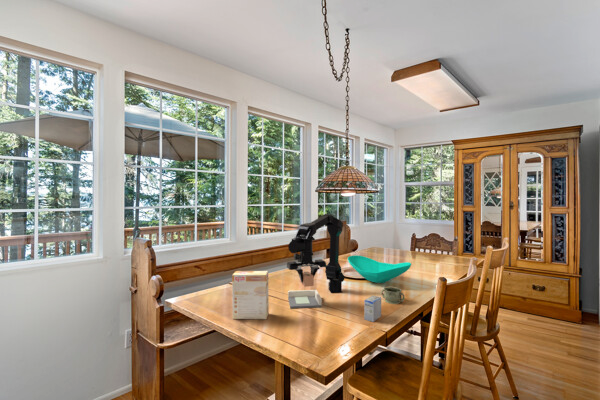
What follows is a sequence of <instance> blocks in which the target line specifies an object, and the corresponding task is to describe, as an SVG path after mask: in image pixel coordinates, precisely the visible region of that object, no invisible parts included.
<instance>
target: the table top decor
mask: <svg viewBox="0 0 600 400" xmlns="http://www.w3.org/2000/svg"><path fill="white" fill-rule="evenodd" d="M347 262H348V263H349V265H350V266H351V267H352V268H353V269H354V270H355V271H356V272H357V273H358V274H359V275H360V276H361V277H363V278H364V279H365V280H367V281H369V282H371V283H377V284H384V283H387V282H389V281H391V280H394V279H395V278H397V277H400V276H402V275H403V274H405V273H406V272H408V270H409V269H410V268H411V266H412V263H411V262H407V261H405V262H399V263H388V262H382V261H378V260H375V259H373V258H370V257H367V256H364V255H350V256H348V257H347Z"/></svg>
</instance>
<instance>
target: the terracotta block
mask: <svg viewBox="0 0 600 400" xmlns="http://www.w3.org/2000/svg"><path fill="white" fill-rule="evenodd" d="M314 278H315V276H314V275H312V274H311V271H303V283H302V282H301V280H300V279H299V283H300V284H301V285H302V286H303V287H305V288H306V287H314V286H315V285H314V282H315V279H314Z"/></svg>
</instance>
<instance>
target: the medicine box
mask: <svg viewBox="0 0 600 400" xmlns="http://www.w3.org/2000/svg"><path fill="white" fill-rule="evenodd" d="M363 303H364V305H363V307H364V313H363V314H364V316H363V318H364V320H366V321H368V322H372V323H375V321H377V320H379V319H380V318H381V317H382V297H380V296H378V295H371V296H369V297H368V298H366V299H364V301H363Z"/></svg>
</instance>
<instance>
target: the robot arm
mask: <svg viewBox="0 0 600 400" xmlns="http://www.w3.org/2000/svg"><path fill="white" fill-rule="evenodd" d="M324 226H326V228H327V229H326V230H327V233H328V235H329V257H328V258H329V261H328V264H327V262H326V261H325V260H323V259H322V258H321V259H315V260H313V256H314V252H313V241H316V239H315V237H314V235H315V234H316V233H317V230H319V229H321V228H323V227H324ZM343 228H344V223H343V221H342V220H341V219H339V218H337V217H335V216H333V215H332V214H325V213H324V214H322V215H321V216H320V217H318V218H317V219H315V220H313V221H310V222H306V223H302V224H299V226H298V228H297V229H298V230H297V231H296V233H295V236H294V238H291V241H290V242H289V243H288V246H287V247H288V250H289V252H290V253H291V254H293V261H287V263H286V268H287V269H288V270H290V271H294V270H295V271H296V272H297V275H298V277H299V281H300V280H301V282H302V283H303V272H304V270H303V268H302V267H304V268H305V267H310V273H311V274H312V275H314V277H315V276H316V274H317V272H318V271H319V270H320V268H325V271H324V273H325V277H326V280H328V286H327V287H328V291H329V292H330V293H331V294H335V293H338V294H339V293H343V290H342V285H343V282H344V281H345V277H346V276H345V274H344V273H343V272H342V266H341V265H340V263H339V258H340V257H339V255H340V253H339V250H340V249H339V248H340V236H341V234H342V232H343V230H344V229H343Z"/></svg>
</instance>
